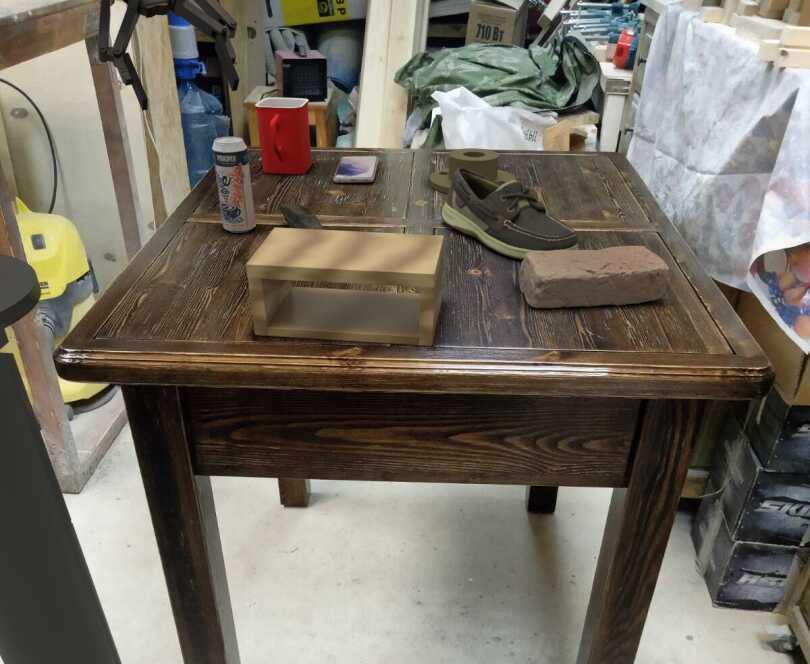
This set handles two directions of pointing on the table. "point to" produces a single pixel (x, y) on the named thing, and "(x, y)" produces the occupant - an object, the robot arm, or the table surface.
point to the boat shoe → (503, 216)
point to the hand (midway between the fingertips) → (191, 95)
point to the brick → (592, 277)
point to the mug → (284, 135)
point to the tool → (299, 217)
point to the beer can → (234, 184)
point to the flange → (470, 167)
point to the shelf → (347, 263)
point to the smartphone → (356, 169)
